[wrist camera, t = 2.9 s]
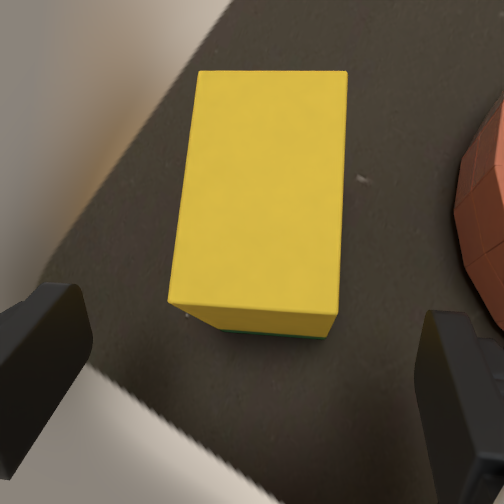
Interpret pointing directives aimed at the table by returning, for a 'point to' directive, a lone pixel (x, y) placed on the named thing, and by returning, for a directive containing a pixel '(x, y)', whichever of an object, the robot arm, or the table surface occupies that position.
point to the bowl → (484, 210)
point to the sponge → (263, 203)
